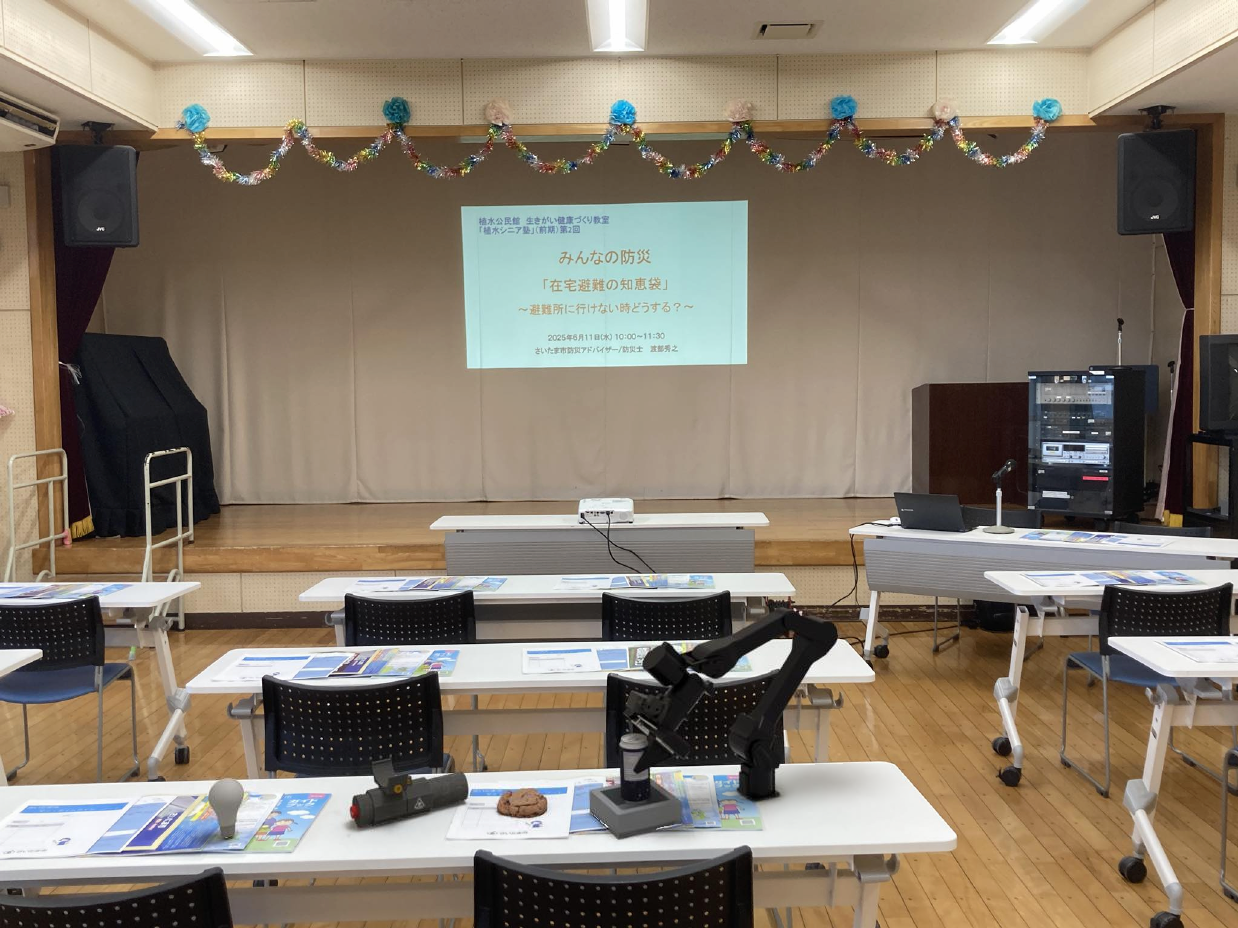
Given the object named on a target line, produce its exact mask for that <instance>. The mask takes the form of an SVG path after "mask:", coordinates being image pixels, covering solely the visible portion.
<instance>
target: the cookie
mask: <svg viewBox="0 0 1238 928" xmlns="http://www.w3.org/2000/svg"><path fill="white" fill-rule="evenodd" d="M496 810H497V812H498V813H499V814H500V815H502V816H509V817H511V818H516V819H523V818H525V819H529V818H530V819H533V818H536V817H540V816H541V815H543V814H544V813H546V812H547V810H548V799H547V796H544V794H542V793H540V792H538V790H537V789H535V788H534V787H533V788H531V787H530V788H529V787H527V788H525V787H523V788H519V789H517V790H514V791H511V790H509V789H508V790H507V791H504V792H503V793H502V794H501V796H500V797H499V799H498V802H497V803H496Z"/></svg>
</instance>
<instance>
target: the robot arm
mask: <svg viewBox="0 0 1238 928" xmlns="http://www.w3.org/2000/svg"><path fill="white" fill-rule="evenodd" d="M789 631H790V632H792V633H793V635H792V637H791V639H792V641H791V642H792V643H791V650H790V652H789V654H788V655H787V656H786V657H787V658H786V659H785V660H784V662H783V664H782V665H781V666H780V669H779V670H778V672H777V674H775V676H774V679H773V680H772V682H771V683H770V684H769V686H768V688H767V690H766V691H765V693H764V694H763V696H762V698H761V699H760V701H759V702H758V704H757V705H756V707H755V708H754V710H753V711H752V712H750V713H748V714H745V713H743V712H740V713H739V714H738V716H737V718H736V721H735V722H734V723H733V725H732V726H730V727H729V730H730V732H729V734H728V739H727V740H728V743H729V746H730V749H731V750H732V751H733V752H735V755H736V758H737V759H739V760H741V761H742V762H741V763H740V764H739V765H740V770H739V772H738V787H736V792H738V793H739V794H741V795H743V796H744V797H746V798H747V799H749V800H750V801H752V802H758V801H762V800H766V799H770V798H771V799H773V798H774V797H779V796H781V792H780V791H778V790H777V789H776V770H777V769H779V768H780V765H781V761H782V757H781V756H780V755H779V754H778V753H777V752H776V751H774V750H773V749H772V746H773V743H774V742H775V734H776V733H775V732H776V725H777V723H778V721H779V719H780V718H781V716H782V714H783V713H784V711H785V710H786V708H787V707H788V705H789V703H790V701H791V700H792V698H793V697H794V696H795V693H796V692H797V690H798V688H799V686H800V685H801V683H802V682H803V680H804V678H805V677H806V675H807V674H808V673H809V670H810V668H811V667H812V665H813V664H814V663H816V662H818V661H819V660H820V659H822V658H823V657H826V655H828V653H829V652H830V651H831V650H832V649H833V647H834V646H835V645H836V643H837V641H838V639H839V634H838V629H837V626H836V624H835V623H834V622H832V621H831V620H828V619H823V618H821V617H817V616H814V615H811V614H810V615H806V616H803V615H801V614H799V613H796V611H794V610H792V609H789V608H786V607H782V606H781V607H778V608H775V609H774V610H773V611H772V612H771V613H769V614H767V615H765V616H764V617H761V618H759V619H757V620H756V621H754V622H751V623H750V624H749V625H747V626H745V627H743V628H742V629H739V630H738V631H736V632H734V633H732V634H730V635H728V636H725V637H721V638H720V637H719V638H714V639H713V638H712V639H709V640H707V641H704V642H701V643H699V644H697V645H696V646H694V647H693V649H691V650H688V651H685V652H681V653H679V651H677V650H676V649H675V648H674V646H673V645H672V644H671V643H670V642H668V641H666V640H664V641H663V642H662V643H661V644H660V645H656V646H655V647H654V648H652V649H651V650H649V651H647V653H646V654H645V656H644V658H643V659H642V662H641V663H642V664H641V665H642V666H641V667H642V669H643V670H645V672H647V673H648V674H649V675H650V677H652V678H653V679H655V681H657V683H659V684H660V685H661V686H662V687H664V688H665V687H667V688H668V687H669V689H667V691H666V692H665V694H663V693H662V692H660V693H658V694H657V695H653V694H648V695H647V694H644V693H640V692H638V691H636V690H631V691H630V693H629V696H628V699H627V701H626V704H625V707H626V709H625V710H624V712H623V715H625V717H627V720H626V721H627V723H628V728H629V733H628V734H642V735H645V736H646V737H647V741H648V746H647V748H646V749H645V751H644V753H643V754H642V756H641V757H640V759H639V760H638V762H637V764H636V766H635V767H634V769H633V771H634V772H635V773H636V774H639V773H641V772H643V771H645V770H646V769H648V768H650V769H651V768H652V767H654V766H657V765H658V764H659V763H663V762H665V761H667V760H669V759H671V758H672V759H674V758H676V757H677V756H678V757H679V758H681V759H682V760H686V758H687V756H688V755H689V754H690V752H691V745H690V744H689V742H687V740H685V739H684V738H683V737H682V736H681V735H680V734H679V733H677V732H676V731H677V729H678V728H679V726H680V725H681V724H682V723H683V721H684V720H685V721H687V722H689V721H690V720H691V718H692V716H691V715H689V714H690V712H691V711H692V709H693V708H694V707H695V706H696V704H697V703H698V702H699V700H700V699H701V698H702V696H703V694H706V695H708V696H710V697H711V698H715V696H716V695H715V688H714V685H715V683H714V682H713V681H711V680H709V679H713V680H719V679H721V678H722V677H724V676H725V675H727V674H728V673H729V672H730V671H731V670H733V669H735V667H736V666H737V663H738V662H739V660H741V658H743V657H744V656H746V655H748V654H749V653H751V652H753V651H755V650H757V649H758V648H760V647H762V646H763V645H765V644H767V643H769V642H771V641H773V640H775V639H776V638H778V637H780V636H782V635H783V634H785V633H787V632H789ZM688 669H689V670H692V671H693V672H692V673H691V672H689V671H688ZM700 674H702V675H704V676H705V677H707V678H709V679H706V680H705V679H704V678H703V677H702V676H701V675H700ZM652 734H654V735H655V737H656V738H655V737H654V736H653V735H652ZM674 753H675V754H676V755H677V756H676V755H675V754H674Z"/></svg>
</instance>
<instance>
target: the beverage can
mask: <svg viewBox="0 0 1238 928" xmlns="http://www.w3.org/2000/svg"><path fill="white" fill-rule="evenodd" d="M647 746H648V741H647V737H646V736H645V735H642V734H629V733H628V734H625V735H622V736H621V738H620V742H619V743H618V749H619V751H618V752H619V778H620V779H619V781H620V783H619V784H620V787H621V798H622V799H624V800H625V802H626V803H628V804H633V805H637V804H643V803H645V802H646V801H647V799H649V798H650V796H651V786H650V778H651V767H650V768H648V769H646V770H645V771H643V772H641V773H639V774H636V773H635V772H634V771H633V769H634V767H635V766H636V764H637V762H638V760H639V759H640V757H641V756H642V754H643V753H644V751H645V749H646V748H647Z"/></svg>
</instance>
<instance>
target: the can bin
mask: <svg viewBox="0 0 1238 928" xmlns="http://www.w3.org/2000/svg"><path fill="white" fill-rule="evenodd" d="M650 786H651V796H650V798H649V799H647V801H646V802H645V803H643V804H637V805H633V804H628V803H626V802H625V800H624V799H622V798H621V787H620V783H617V784H611V785H607V786H602V787H596V788H592V789H589V813H590V812H591V813H592V814H593V815H595V816H596V817H597V818H598V819H599V820H601V821H602V822H603V823H604V824H606V825H607V826H608V827H609V829H610V831H611V832H610V831H609V832H610V833H611V834H612V835H613V836H615V838H616V839H617V840H622V839H626V838H631V837H634V836H639V835H643V834H648V833H652V831H653V830H656V829H657V828H660V827H664V826H670V825H674V824H681V823H682V824H683V818H682V817H683V814H682V812H683V811H682V803H683V802H682V800H680V798H678V797H677V796H675V795H673V793H671V792H670V791H668V790H667V789H666V788H664V787H663V786H662V785H660V784H659V783H657V781H655V780H653V779H652V778H651V777H650ZM591 813H590V814H591ZM592 814H591V815H592ZM593 815H592V816H593ZM653 832H654V831H653Z"/></svg>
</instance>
